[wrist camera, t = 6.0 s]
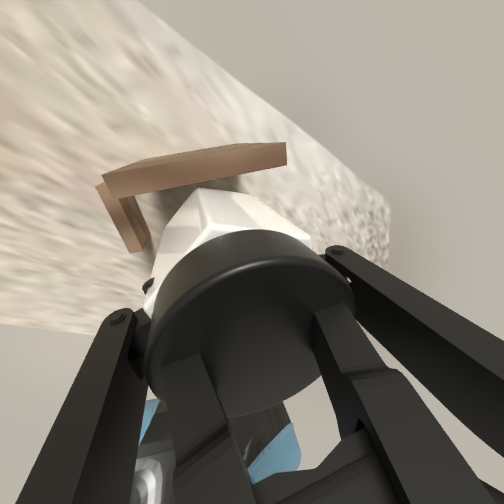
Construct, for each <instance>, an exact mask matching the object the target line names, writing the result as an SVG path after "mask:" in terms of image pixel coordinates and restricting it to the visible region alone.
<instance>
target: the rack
mask: <svg viewBox="0 0 504 504" xmlns="http://www.w3.org/2000/svg"><path fill="white" fill-rule="evenodd" d="M285 165H287V155H286V142H280V143H244V144H231V145H226V146H220V147H214V148H208V149H202V150H196V151H190V152H184V153H178V154H172V155H166V156H160V157H154V158H149V159H144V160H141V161H138V162H136V163H133V164H130V165H127V166H124V167H122V168H119V169H116V170H113V171H111V172H108V173H105V174H102V177H103V179H104V181H105V182H104V183H101V184H99V185H97V186H95V187H96V189H97V191H98V193H99V195H100V197H101V199H102V201H103V203H104V205H105V207H106V209H107V211H108V212H109V214H110V216H111V218H112V220H113V222H114V224H115V226H116V228H117V230H118V232H119V234H120V236H121V237H122V239H123V241H124V243H125V245H126V247H127V249H128V251H129V253H134V252H138V251H143V249H144V246H145V244H146V241H147V239H148V236H149V233H150V232H149V229H148V227H147V225H146V222H145V220H144V218H143V216H142V213H141V211H140V209H139V206H138V204H137V202H136V199H135V197H134V195H139V194H144V193H149V192H154V191H159V190H164V189H169V188H174V187H179V186H184V185H189V184H194V183H200V182H205V181H210V180H215V179H220V178H225V177H230V176H235V175H240V174H245V173H250V172H255V171H260V170H265V169H270V168H275V167H280V166H285Z"/></svg>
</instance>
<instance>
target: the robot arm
mask: <svg viewBox="0 0 504 504" xmlns="http://www.w3.org/2000/svg"><path fill="white" fill-rule="evenodd" d="M318 256H320V257H321V258H322V259H323V260H325V261H326V262H327V263H328V264H330V265H331V266H332V267H333V268H335V269H336V270H337V271H338V272H339V273H340V274H341V275H342V276H343V277H344V278H345V279H346V281H347V282H348V284H349V285H350V287H351V289H352V291H353V295H354V298H355V305H356V316H355V318H354V317H353V315H352V314H351V312H350V311H349V309H348V308H347V306H346V305H345V303H341V304H338V305H335V306H332V307H329V308H326V309H324V310H321V311H318V312H315V313H314V356H315V359H316V362H317V364H318V367H319V370H320V373H321V375H322V378H323V381H324V384H325V386H326V389H327V392H328V395H329V398H330V400H331V403H332V406H333V409H334V412H335V414H336V418H337V423H338V429H339V433H340V437H341V441H340V442H339V444H338V445H337V446H336V447H335V448H334V449H333V451H332V452H331V453H330V454H329V455H328V456H327V457H326V458H325V459H324V461H323V462H322V463H321V464H320V465H319V466H318V467H317V468H315V469H310V470H300V471H296V470H297V469H298V467H299V464H300V461H301V451H300V447H299V444H298V441H297V438H296V435H295V432H294V428H293V423H291V421H290V418H289V416H288V413H287V411H286V408H285V406H284V403H283V401H282V402H280V403H278V404H276V405H273V406H271V407H268V408H266V409H263V410H260V411H257V412H253V413H250V414H246V415H241V416H236V417H228V418H227V417H226V414H225V411H224V409H223V406H222V404H221V401H220V399H219V396H218V394H217V391H216V389H215V387H214V384H213V382H212V380H211V378H210V375H209V373H208V371H207V369H206V366H205V364H204V362H203V359H202V357H201V355H200V353H199V354H197V355H194V356H191V357H188V358H185V359H182V360H180V361H177V362H174V363H171V364H168V365H165V366H163V367H160V369H161V375H162V381H163V387H164V393H165V399H166V405H167V406H166V405H165V404H163V403H162V402H161V401H160V400H159V399H158V398H157V399H153V400H147V401H146V396H147V390H148V382H147V380H146V376H145V371H144V355H145V349H146V344H147V339H148V334H149V329H150V324H151V319H150V317H149V316H148V315H147V314H146V313H145V312H144V310H143V308H141V309H139V310H137V311H135V312H133V311H132V310H131V309H130V308H123V309H119V310H117V311H115V312H113V313H111V314H110V315H109V316H108V317H106V318H105V319H104V321H103V322H102V324H101V326H100V328H99V330H98V332H97V334H96V336H95V338H94V341H93V343H92V345H91V347H90V349H89V351H88V353H87V355H86V357H85V360H84V361H83V364H82V366H81V368H80V370H79V372H78V374H77V376H76V378H75V381H74V383H73V384H72V387H71V389H70V391H69V393H68V395H67V397H66V399H65V401H64V403H63V405H62V407H61V409H60V412H59V414H58V416H57V418H56V420H55V422H54V424H53V426H52V428H51V430H50V432H49V435H48V437H47V439H46V441H45V443H44V445H43V447H42V449H41V451H40V453H39V455H38V457H37V460H36V462H35V464H34V466H33V468H32V470H31V472H30V474H29V476H28V478H27V480H26V483H25V485H24V487H23V489H22V491H21V493H20V495H19V497H18V499H17V501H16V503H15V504H504V493H502V492H501V491H499V490H497V489H496V488H494V487H492V486H490V485H489V484H487V483H485V482H484V481H482V480H480V479H479V478H478V477H477V476H476V474H475V473H474V472H473V470H472V469H471V467H470V466H469V465H468V464H467V462H466V461H465V459H464V458H463V456H462V455H461V453H460V452H459V451H458V449H457V448H456V447H455V445H454V444H453V442H452V441H451V440H450V438H449V437H448V435H447V434H446V432H445V431H444V430H443V428H442V427H441V425H440V424H439V423H438V421H437V420H436V418H435V417H434V416H433V414H432V413H431V411H430V410H429V409H428V407H427V406H426V405H425V403H424V402H423V400H422V399H421V397H420V396H419V395H418V393H417V392H416V390H415V389H414V388H413V386H412V385H411V383H410V382H409V381H408V379H407V378H406V377H405V376H404V375H403V374H402V373H401V372H400V371H398V370H397V369H392V368H388V367H387V366H386V364H385V363H384V362H383V360H382V359H381V357H380V356H379V354H378V353H377V351H376V350H375V348H374V347H373V345H372V344H371V342H370V341H369V340H368V338H367V336H366V335H365V333H364V332H363V330H362V329H361V327H360V326H359V324H358V323H357V321H358V322H359V323H360V324H361V325H362V326H363V327H364V328H365V329H366V330H367V331H368V332H369V333H370V334H371V335H372V336H373V337H375V339H376V340H378V342H380V344H382V345H383V346H384V347H385V348H386V349H387V350H388V351H389V352H390V353H391V354H392V355H393V356H394V357H395V358H396V359H397V360H398V361H399V362H400V363H401V364H402V365H403V366H404V367H405V368H406V369H407V370H408V371H409V372H410V373H411V374H412V375H413V376H414V377H415V378H416V379H418V380H419V382H421V384H423V385H424V386H425V387H426V388H427V389H428V390H429V391H430V392H431V393H432V394H433V395H434V396H435V397H436V398H437V399H438V400H439V401H440V402H441V403H442V404H443V405H444V406H445V407H446V408H447V409H448V410H449V411H450V412H451V413H452V414H453V415H454V416H456V417H457V418H458V419H459V420H460V421H461V422H462V423H463V424H464V425H465V426H466V427H468V428H469V429H470V430H471V431H472V432H473V433H474V434H475V435H476V436H478V437H479V438H480V439H481V440H482V441H484V442H485V443H486V444H487V445H488V446H490V447H491V448H492V449H494V450H495V451H496V452H497V453H499V454H500V455H501V456H502V457H504V341H503V340H501V339H499V338H497V337H496V336H494V335H493V334H491V333H489V332H488V331H486V330H484V329H483V328H481V327H479V326H477V325H476V324H474V323H473V322H471V321H469V320H467V319H466V318H464V317H462V316H460V315H459V314H457V313H456V312H454V311H452V310H451V309H449V308H447V307H445V306H444V305H442V304H441V303H439V302H437V301H435V300H434V299H432V298H431V297H429V296H427V295H426V294H424V293H422V292H420V291H419V290H417V289H415V288H414V287H412V286H410V285H409V284H407V283H405V282H404V281H402V280H400V279H399V278H397V277H395V276H394V275H392V274H390V273H389V272H387V271H385V270H384V269H382V268H380V267H379V266H377V265H375V264H373V263H372V262H370V261H368V260H367V259H365V258H363V257H362V256H360V255H358V254H357V253H355V252H353V251H352V250H350V249H348V248H346V247H344V246H340V245H337V246H336V245H334V246H330V247H328V248H326V250H325V254H322V255H318ZM154 278H155V277H153V278H151V279H149V280H148V281H147V282H145V284H144V285H143V287H142V289H143V291H144V293H145V295H146V293H147V291H148V289H149V287H150V288H151V286H152V285H153V282H154ZM347 278H349V279H350V280H351V282H349V281H348V280H347ZM151 316H152V315H151ZM355 319H356V320H357V321H356V320H355Z"/></svg>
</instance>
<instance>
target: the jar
mask: <svg viewBox="0 0 504 504" xmlns="http://www.w3.org/2000/svg"><path fill="white" fill-rule="evenodd" d="M153 277H155V278H154V282H153V285H152V286H151V288H150V287H149V289H148V291H147V293H146V296H145V300H144V304H143V310H144V312H145V313H146V314H147V315H148V316H149V317H150V319H151V324H150V329H149V334H148V339H147V344H146V349H145V355H144V371H145V376H146V380H147V382H148V385H149V387H150V389H151V390H152V392H153V393H154V394H155V396H156V397H157V398H158V399H159V400H160V401H161V402H162V403H163V404H165V405H166V399H165V393H164V387H163V381H162V375H161V369H160V367H163V366H165V365H168V364H171V363H174V362H177V361H180V360H182V359H185V358H188V357H191V356H194V355H197V354H199V353H200V355H201V357H202V359H203V362H204V364H205V366H206V369H207V371H208V373H209V375H210V378H211V380H212V382H213V384H214V387H215V389H216V391H217V394H218V396H219V399H220V401H221V404H222V406H223V409H224V411H225V414H226V417H227V418H228V417H236V416H241V415H246V414H250V413H253V412H257V411H260V410H263V409H266V408H268V407H271V406H273V405H276V404H278V403H280V402H282V401H284V400H286V399H288V398H290V397H291V396H293V395H295V394H296V393H298V392H300V391H301V390H303V389H304V388H306V387H307V386H308V385H310V384H311V383H312V382H314V381H315V380H316V379H317V378H319V377H320V376H321V373H320V370H319V367H318V364H317V362H316V359H315V356H314V313H315V312H318V311H321V310H324V309H326V308H329V307H332V306H335V305H338V304H341V303H345V305H346V306H347V308H348V309H349V311H350V312H351V314H352V315H353V317H354V318H355V316H356V305H355V298H354V295H353V291H352V289H351V287H350V285H349V284H348V282H347V281H346V279H345V278H344V277H343V276H342V275H341V274H340V273H339V272H338V271H337V270H336V269H335V268H333V267H332V266H331V265H330V264H328V263H327V262H326V261H325V260H323V259H322V258H321V257H320V256H318V255H317V254H316V253H315V252H313V247H312V241H311V237H310V236H309V235H308V234H307V233H305V232H304V231H302V230H301V229H299V228H298V227H297V226H295V225H294V224H292V223H291V222H289V221H288V220H287V219H285V218H284V217H282V216H281V215H279V214H278V213H277V212H275V211H274V210H272V209H271V208H270V207H268V206H267V205H265V204H264V203H262V202H261V201H260V200H258V199H257V198H255V197H254V196H253V195H249V194H243V193H237V192H232V191H226V190H220V189H215V188H209V187H204V186H196V187H195V189H194V190H193V191H192V193H191V194H190V195H189V197H188V198H187V199H186V201H185V202H184V203H183V205H182V206H181V207H180V208H179V210H178V211H177V212H176V214H175V215H174V216H173V218H172V219H171V220H170V222H169V223H168V224H167V226H166V227H165V228H164V230H163V233H162V236H161V240H160V244H159V248H158V251H157V255H156V259H155V263H154V266H153V270H152V274H151V278H153ZM151 278H150V279H151ZM151 315H152V316H151ZM166 406H167V405H166Z"/></svg>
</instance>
